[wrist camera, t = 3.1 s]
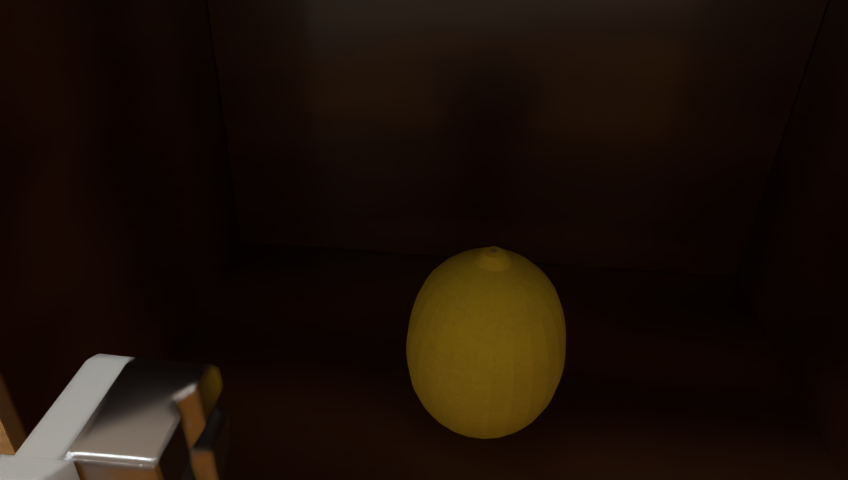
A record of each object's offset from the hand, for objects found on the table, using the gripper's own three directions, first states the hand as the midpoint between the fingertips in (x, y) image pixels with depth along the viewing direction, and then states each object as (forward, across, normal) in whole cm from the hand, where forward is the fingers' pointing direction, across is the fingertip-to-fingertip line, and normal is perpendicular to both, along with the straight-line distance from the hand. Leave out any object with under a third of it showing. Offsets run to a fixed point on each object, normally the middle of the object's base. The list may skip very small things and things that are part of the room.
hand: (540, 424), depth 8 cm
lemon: (+12, 0, +14) cm, 18 cm away
